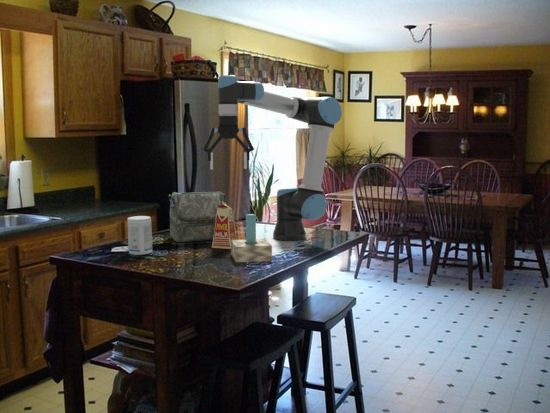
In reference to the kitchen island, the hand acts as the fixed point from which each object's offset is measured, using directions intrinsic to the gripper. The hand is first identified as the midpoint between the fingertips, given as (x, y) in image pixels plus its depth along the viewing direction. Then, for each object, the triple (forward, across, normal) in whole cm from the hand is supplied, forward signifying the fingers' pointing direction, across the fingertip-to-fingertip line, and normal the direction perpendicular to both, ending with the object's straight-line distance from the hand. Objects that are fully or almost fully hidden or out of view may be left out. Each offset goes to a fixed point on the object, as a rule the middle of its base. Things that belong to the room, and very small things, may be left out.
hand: (228, 169), depth 248 cm
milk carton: (+35, 0, -15) cm, 38 cm away
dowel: (+32, -7, +10) cm, 35 cm away
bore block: (+34, -7, +10) cm, 37 cm away
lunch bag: (+35, +10, -36) cm, 51 cm away
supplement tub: (+35, +36, -9) cm, 50 cm away
